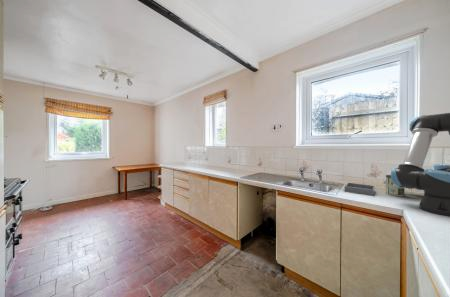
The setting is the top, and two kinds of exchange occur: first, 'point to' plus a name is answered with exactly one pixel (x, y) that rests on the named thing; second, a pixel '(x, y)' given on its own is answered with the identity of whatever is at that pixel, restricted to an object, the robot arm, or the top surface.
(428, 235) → the top surface
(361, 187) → the tray
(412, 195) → the top surface
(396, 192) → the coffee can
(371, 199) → the top surface
